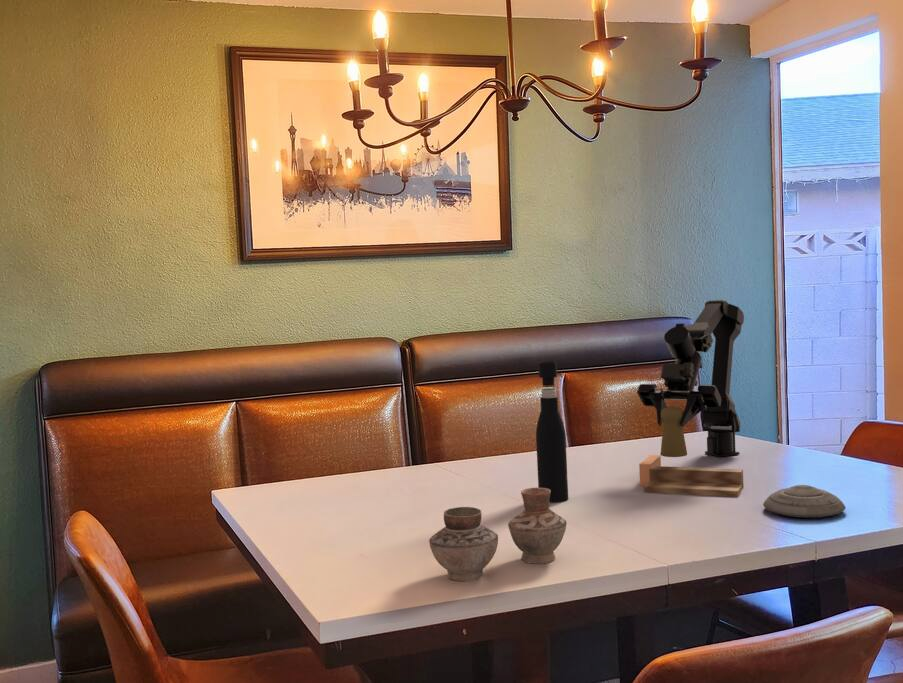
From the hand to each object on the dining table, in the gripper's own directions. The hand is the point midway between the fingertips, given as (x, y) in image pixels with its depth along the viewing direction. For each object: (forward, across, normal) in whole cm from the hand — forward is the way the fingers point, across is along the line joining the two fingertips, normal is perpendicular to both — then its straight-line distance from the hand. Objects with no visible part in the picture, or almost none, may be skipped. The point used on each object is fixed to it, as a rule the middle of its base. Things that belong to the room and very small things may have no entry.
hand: (670, 425), depth 208 cm
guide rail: (+11, +5, +7) cm, 14 cm away
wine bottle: (+27, -17, -9) cm, 34 cm away
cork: (+4, 0, +6) cm, 7 cm away
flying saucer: (+21, +33, -2) cm, 39 cm away
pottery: (+60, -2, -42) cm, 73 cm away
